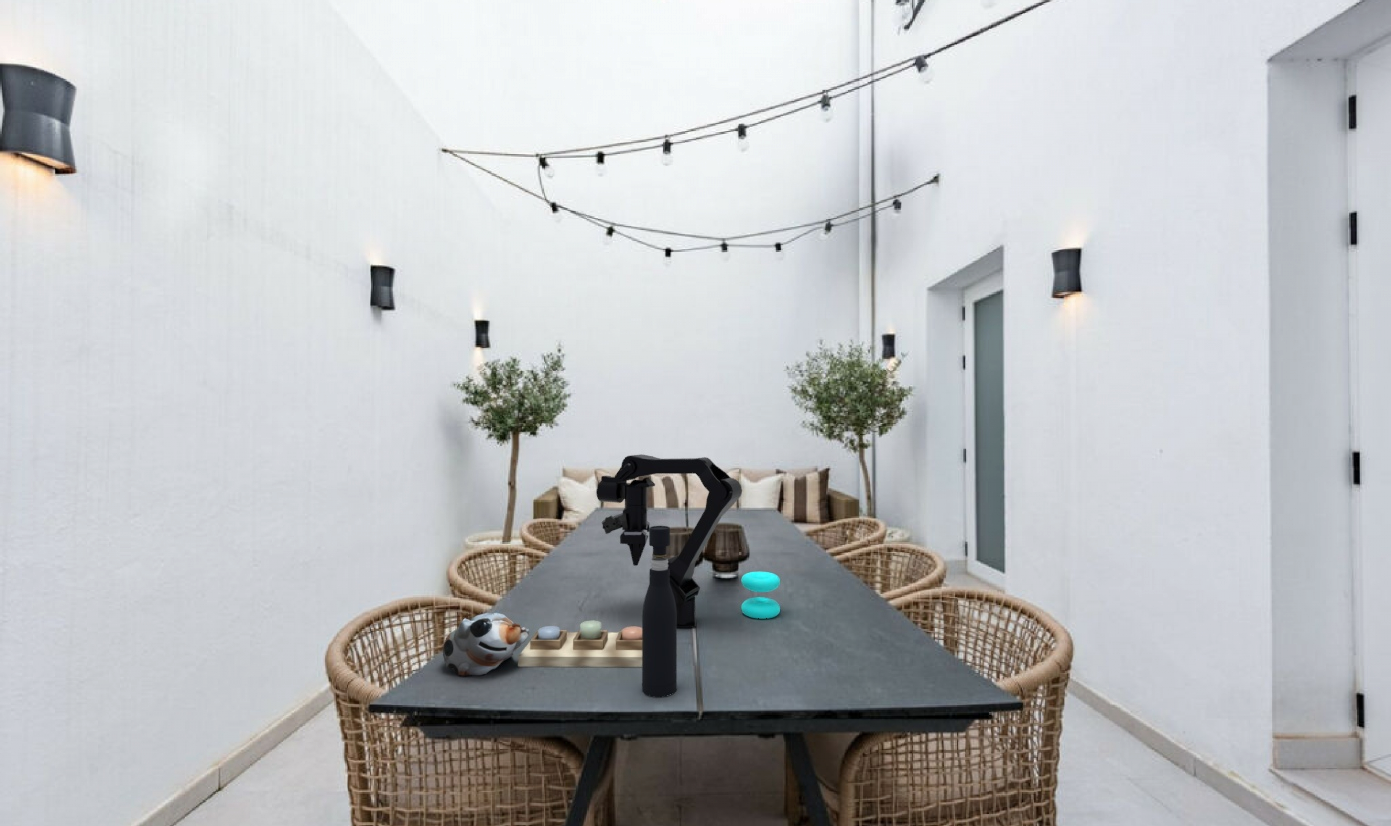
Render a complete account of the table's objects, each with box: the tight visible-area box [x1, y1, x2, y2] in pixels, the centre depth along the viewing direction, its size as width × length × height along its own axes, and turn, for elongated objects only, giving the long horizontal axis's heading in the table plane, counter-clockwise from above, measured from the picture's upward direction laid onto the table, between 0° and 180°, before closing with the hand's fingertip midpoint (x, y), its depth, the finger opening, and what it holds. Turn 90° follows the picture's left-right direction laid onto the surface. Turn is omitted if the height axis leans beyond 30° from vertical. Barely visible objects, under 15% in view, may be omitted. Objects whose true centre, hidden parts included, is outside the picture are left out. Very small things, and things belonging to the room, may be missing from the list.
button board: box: [517, 629, 642, 668], centre depth 128 cm, size 27×14×4 cm, turn 89°
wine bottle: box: [641, 525, 678, 698], centre depth 111 cm, size 6×6×30 cm
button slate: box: [537, 625, 561, 640], centre depth 128 cm, size 4×4×2 cm
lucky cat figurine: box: [442, 612, 530, 676], centre depth 121 cm, size 15×12×14 cm
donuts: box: [740, 571, 781, 620], centre depth 155 cm, size 10×10×10 cm
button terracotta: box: [621, 625, 642, 640], centre depth 128 cm, size 4×4×2 cm
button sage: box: [579, 619, 602, 639], centre depth 128 cm, size 4×4×2 cm
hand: (635, 565), depth 153 cm, fingers closed
